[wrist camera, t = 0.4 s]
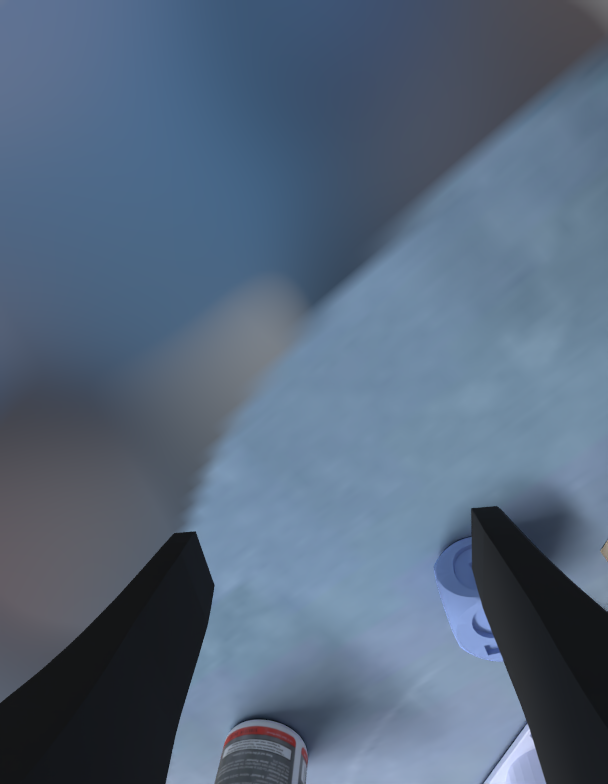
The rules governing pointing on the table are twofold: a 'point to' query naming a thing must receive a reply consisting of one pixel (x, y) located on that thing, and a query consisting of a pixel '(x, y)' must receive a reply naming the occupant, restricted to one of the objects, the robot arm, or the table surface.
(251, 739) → the pill bottle
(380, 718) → the table surface
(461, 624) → the decorative dice
